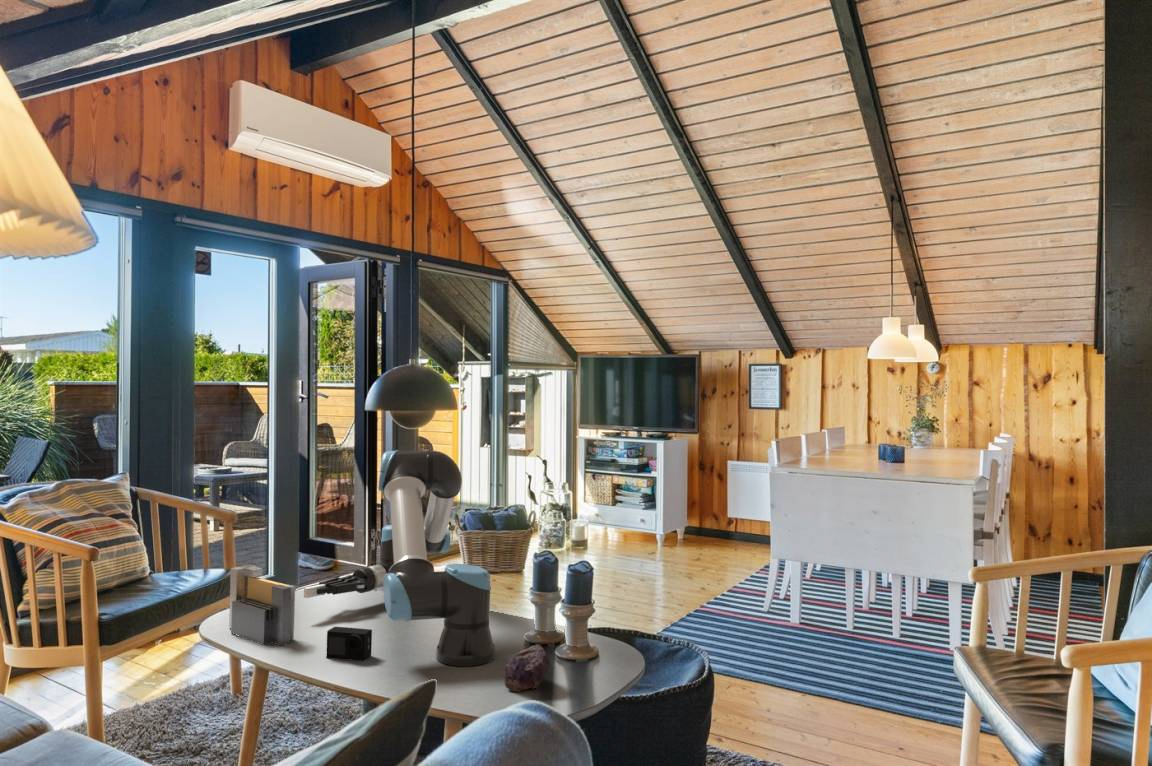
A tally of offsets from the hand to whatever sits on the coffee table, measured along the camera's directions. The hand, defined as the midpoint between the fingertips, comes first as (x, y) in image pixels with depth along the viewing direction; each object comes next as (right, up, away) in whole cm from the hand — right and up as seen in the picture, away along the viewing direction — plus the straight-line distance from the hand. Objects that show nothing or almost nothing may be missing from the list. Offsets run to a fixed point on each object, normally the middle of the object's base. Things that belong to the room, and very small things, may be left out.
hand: (305, 593), depth 230 cm
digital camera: (+20, -9, -29) cm, 36 cm away
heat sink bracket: (-8, -8, -12) cm, 17 cm away
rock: (+68, -10, -45) cm, 82 cm away
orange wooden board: (-6, -8, -11) cm, 15 cm away
